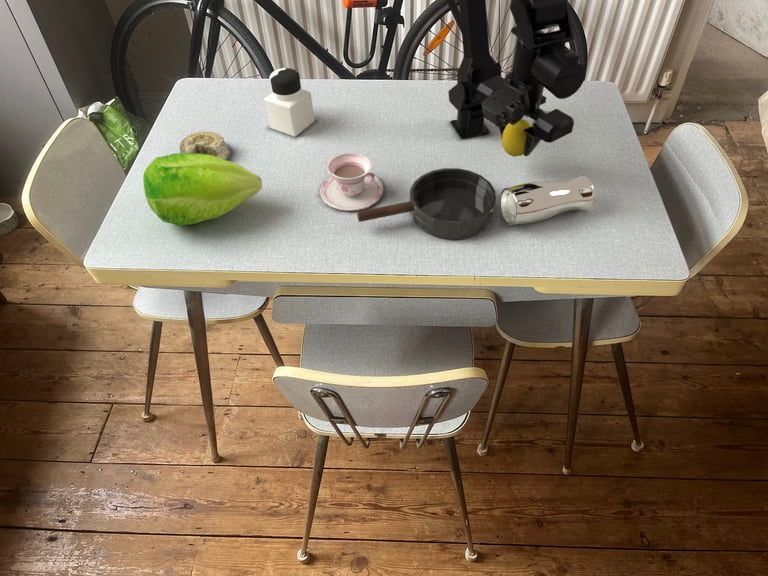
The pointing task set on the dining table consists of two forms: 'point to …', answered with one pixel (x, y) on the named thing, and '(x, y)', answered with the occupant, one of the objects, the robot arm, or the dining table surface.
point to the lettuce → (196, 187)
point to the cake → (205, 144)
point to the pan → (452, 203)
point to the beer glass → (545, 199)
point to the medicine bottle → (288, 103)
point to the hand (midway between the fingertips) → (515, 148)
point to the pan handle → (385, 211)
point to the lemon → (515, 138)
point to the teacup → (350, 183)
